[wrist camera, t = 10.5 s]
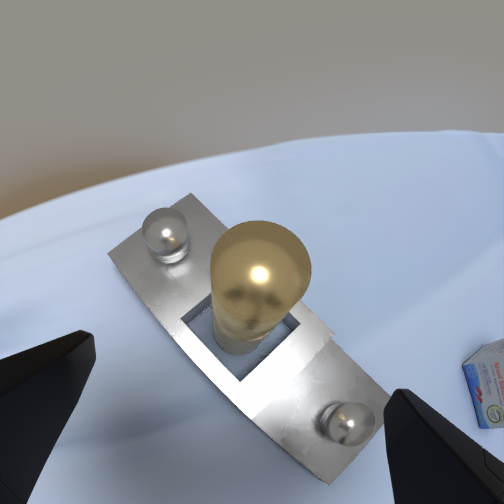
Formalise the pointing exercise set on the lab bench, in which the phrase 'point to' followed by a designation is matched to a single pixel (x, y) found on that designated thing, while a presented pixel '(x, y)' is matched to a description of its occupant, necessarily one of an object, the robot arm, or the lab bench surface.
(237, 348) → the brass pin
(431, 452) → the robot arm
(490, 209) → the lab bench surface
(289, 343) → the metal bracket
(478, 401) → the medicine box
